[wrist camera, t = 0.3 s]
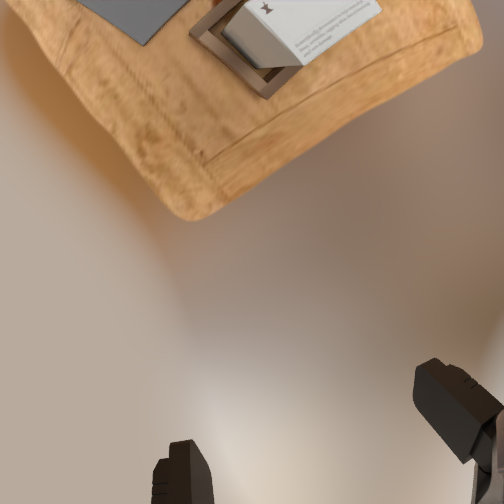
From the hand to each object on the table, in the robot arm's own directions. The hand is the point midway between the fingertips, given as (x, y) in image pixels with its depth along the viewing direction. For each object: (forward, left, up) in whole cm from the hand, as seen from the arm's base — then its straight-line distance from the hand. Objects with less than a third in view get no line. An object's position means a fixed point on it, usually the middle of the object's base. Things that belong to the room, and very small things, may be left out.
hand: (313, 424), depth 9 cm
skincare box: (-6, +14, -31) cm, 34 cm away
